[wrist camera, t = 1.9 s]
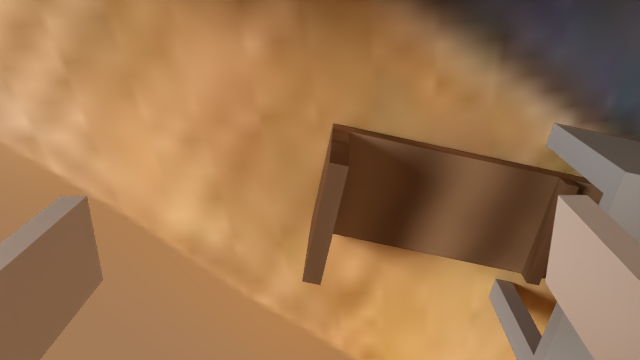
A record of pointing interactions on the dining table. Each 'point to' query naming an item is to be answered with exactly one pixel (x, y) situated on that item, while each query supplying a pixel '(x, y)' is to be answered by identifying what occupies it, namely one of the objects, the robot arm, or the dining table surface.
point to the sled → (436, 203)
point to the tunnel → (617, 201)
